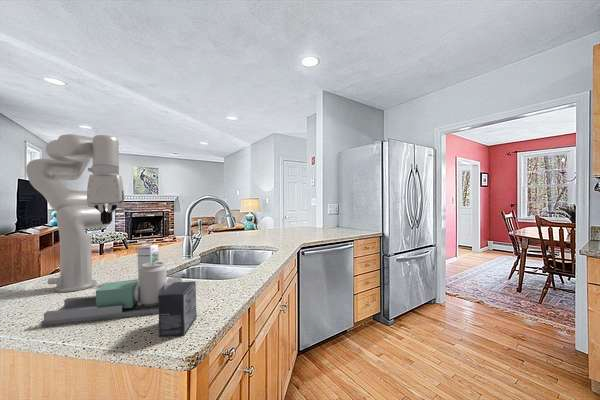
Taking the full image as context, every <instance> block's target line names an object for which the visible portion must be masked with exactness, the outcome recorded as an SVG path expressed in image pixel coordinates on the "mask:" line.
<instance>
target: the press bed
mask: <svg viewBox="0 0 600 400" xmlns="http://www.w3.org/2000/svg"><path fill="white" fill-rule="evenodd" d="M182 278H183V277H181V276H180V277H170V278H167V281H166V283H165V285H164V290H165V289H166V288H168V287H169V286H170V285H171V284H172V283H174V282H183V281H182ZM63 303H64V305H63V306H61V307H60V308H59V309H58V310H47V311H46V312H44V313H43V320H41V328H46V327H54V326H63V324H65V325H71V324H79V323H89V322H97V321H106V320H115V318H116V319H124V318H132V317H134V318H135V317H140V316H141V317H142V316H149V315H151V316H152V315H157V314H158V315H159V304H157V305H152V306H145V305H143V304H141V303H140V302H136V303H135V305H134V306H133V307H132V308H124V303H123V304H113V305H104V306H96V295H88V296H80V297H79V296H75V297H69V298H68V297H67V298H65V299H64V302H63Z"/></svg>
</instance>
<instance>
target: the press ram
mask: <svg viewBox="0 0 600 400" xmlns="http://www.w3.org/2000/svg"><path fill="white" fill-rule="evenodd" d="M95 296H96V306H104V305H113V304H123V303H124V308H132V307H133V306H134V305H135V303H136V302H139V280H138V279H137V280H126V281H115V282H105V283H104V284H103V285H102V286H101V287H99V288H97V289H96V290H95Z"/></svg>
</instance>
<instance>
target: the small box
mask: <svg viewBox="0 0 600 400" xmlns="http://www.w3.org/2000/svg"><path fill="white" fill-rule="evenodd" d="M196 287H197V283H196V281H193V280H191V281H182V282H174V283H172V284H171V285H170V286H169V287H168V288H166V289H165V290H164V291H163V292H161V293H160V294H159V295H158V304H159V314H158V336H159V338H162V337H163V338H164V337H166V338H167V337H181V336H182V337H183V336H186V334H187V333H188V331H189V330H190V328H191V327H192V326H193V324H194V323H195V321H196V319H197V316H198V315H197V290H196V289H197V288H196Z"/></svg>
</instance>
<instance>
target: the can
mask: <svg viewBox="0 0 600 400" xmlns="http://www.w3.org/2000/svg"><path fill="white" fill-rule="evenodd" d="M167 274H168V273H167V266H165V263H164V262H163V261H158V262H151V263H146V264H143V265H142V268H141V269H140V270H139V302H140V303H141V304H143V305H145V306H152V305H157V304H158V295H159V294H160V293H161V292H163V291H164V285H165V283H166V281H167V280H168V278H167V277H168V276H167Z"/></svg>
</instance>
